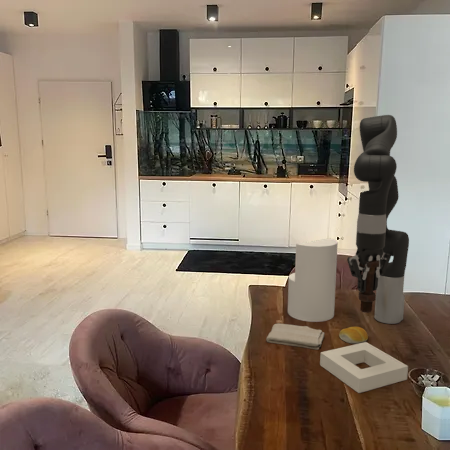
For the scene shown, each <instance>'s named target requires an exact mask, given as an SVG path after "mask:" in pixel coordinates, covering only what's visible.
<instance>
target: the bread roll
mask: <svg viewBox="0 0 450 450" xmlns="http://www.w3.org/2000/svg"><path fill="white" fill-rule="evenodd" d="M338 336H339V338H340V340H342V341H344V342H346V343H348V344H352V345H355V344H359V343H364V342H367V341H368V338H369V336H368V333H367V331H366V330H365V329H364V328H362V327H360V326H349V327H347V328H343V329H341V330H340V332H339V334H338Z"/></svg>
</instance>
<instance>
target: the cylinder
mask: <svg viewBox="0 0 450 450" xmlns="http://www.w3.org/2000/svg"><path fill="white" fill-rule="evenodd" d="M338 243H339V242H338V240H336V239H335V238H331V237H329V238H322V239H317V240H311V241H306V242H299V243H296V244H295V265H294V266H295V267H294V272H292V273H291V274H289V276H288V289H287V290H288V292H287V314H288V315H289V316H290V317H291V318H293V319H296V320H299V321H303V322H309V323H310V322H311V323H315V322H316V323H318V322H326V321H329V320H331V319H333V318H334V316H335V303H336V286H337V285H336V283H337V280H336V279H337V264H338V262H337V261H338Z"/></svg>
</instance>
